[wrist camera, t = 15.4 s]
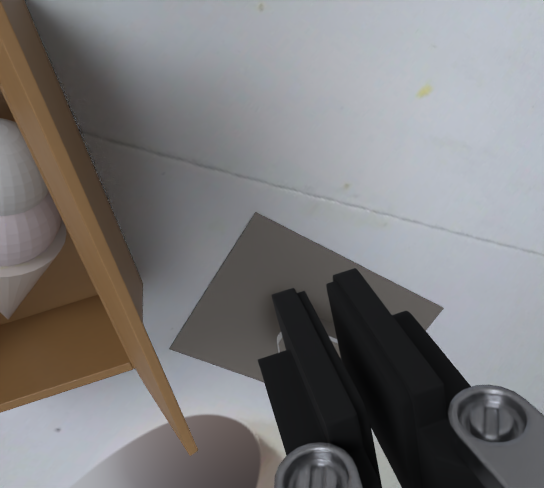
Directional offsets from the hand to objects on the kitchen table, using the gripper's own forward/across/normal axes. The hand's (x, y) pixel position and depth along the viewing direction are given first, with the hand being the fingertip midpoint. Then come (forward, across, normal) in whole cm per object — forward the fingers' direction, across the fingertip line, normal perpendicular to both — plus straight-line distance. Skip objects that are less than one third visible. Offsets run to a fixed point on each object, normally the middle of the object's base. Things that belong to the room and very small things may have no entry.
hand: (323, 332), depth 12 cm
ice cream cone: (+20, +14, 0) cm, 24 cm away
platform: (+21, -3, +17) cm, 27 cm away
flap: (+9, +7, 0) cm, 11 cm away
